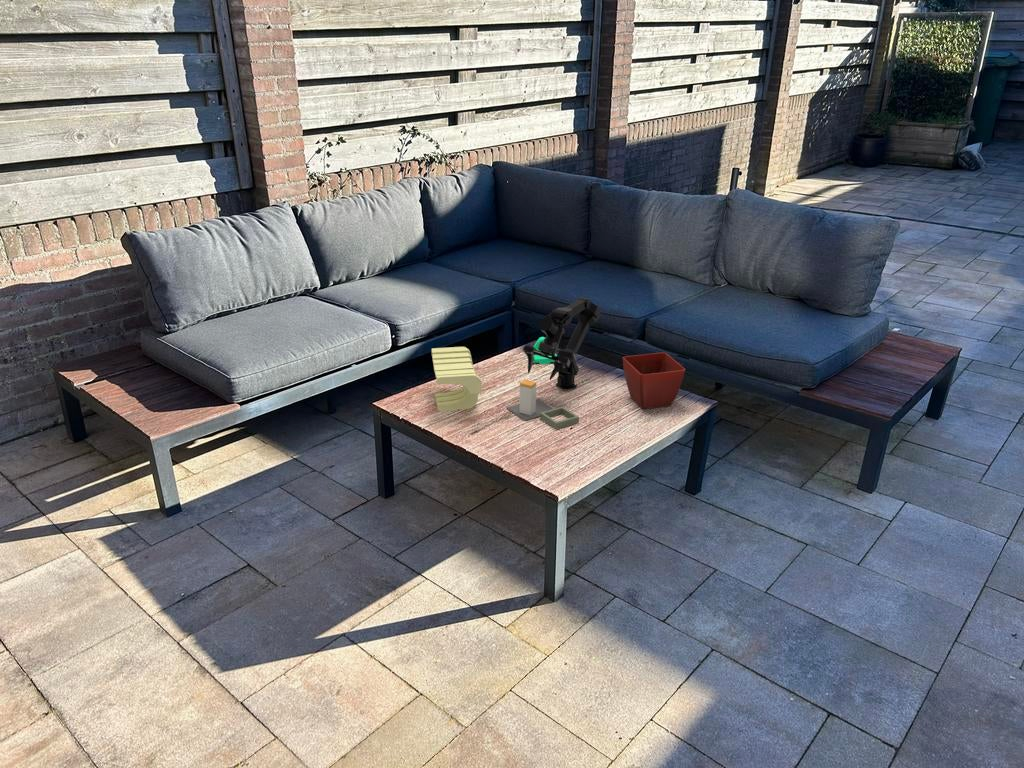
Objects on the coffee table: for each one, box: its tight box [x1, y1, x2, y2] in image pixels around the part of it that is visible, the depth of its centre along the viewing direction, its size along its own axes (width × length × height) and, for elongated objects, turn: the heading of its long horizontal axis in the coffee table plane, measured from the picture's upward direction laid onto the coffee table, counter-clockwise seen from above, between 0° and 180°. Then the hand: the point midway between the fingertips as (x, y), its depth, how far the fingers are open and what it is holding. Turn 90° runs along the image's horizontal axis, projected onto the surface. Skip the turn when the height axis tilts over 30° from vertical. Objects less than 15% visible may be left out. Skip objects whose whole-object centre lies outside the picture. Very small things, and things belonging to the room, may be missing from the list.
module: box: [519, 379, 537, 415], centre depth 311 cm, size 4×5×12 cm
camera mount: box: [532, 336, 558, 365], centre depth 362 cm, size 12×8×10 cm, turn 98°
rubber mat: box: [506, 398, 554, 422], centre depth 316 cm, size 15×13×1 cm
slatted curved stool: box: [431, 346, 482, 412], centre depth 319 cm, size 30×16×18 cm, turn 10°
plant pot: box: [622, 352, 686, 410], centre depth 322 cm, size 19×19×17 cm
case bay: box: [539, 406, 580, 430], centre depth 308 cm, size 11×11×2 cm
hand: (539, 376), depth 317 cm, fingers open, 9 cm apart
